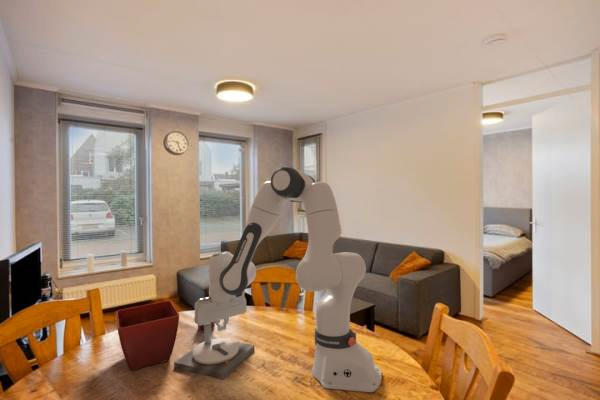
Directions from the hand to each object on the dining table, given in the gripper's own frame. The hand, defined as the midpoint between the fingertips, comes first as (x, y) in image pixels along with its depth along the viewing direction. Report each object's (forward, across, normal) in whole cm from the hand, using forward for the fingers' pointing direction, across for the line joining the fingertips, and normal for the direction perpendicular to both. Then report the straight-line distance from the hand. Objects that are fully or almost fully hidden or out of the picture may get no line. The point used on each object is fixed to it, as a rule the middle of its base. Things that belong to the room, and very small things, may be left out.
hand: (221, 329), depth 119 cm
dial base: (+7, -5, -5) cm, 10 cm away
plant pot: (+7, -24, +12) cm, 27 cm away
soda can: (+7, +3, +22) cm, 23 cm away
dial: (+5, -5, -6) cm, 9 cm away
